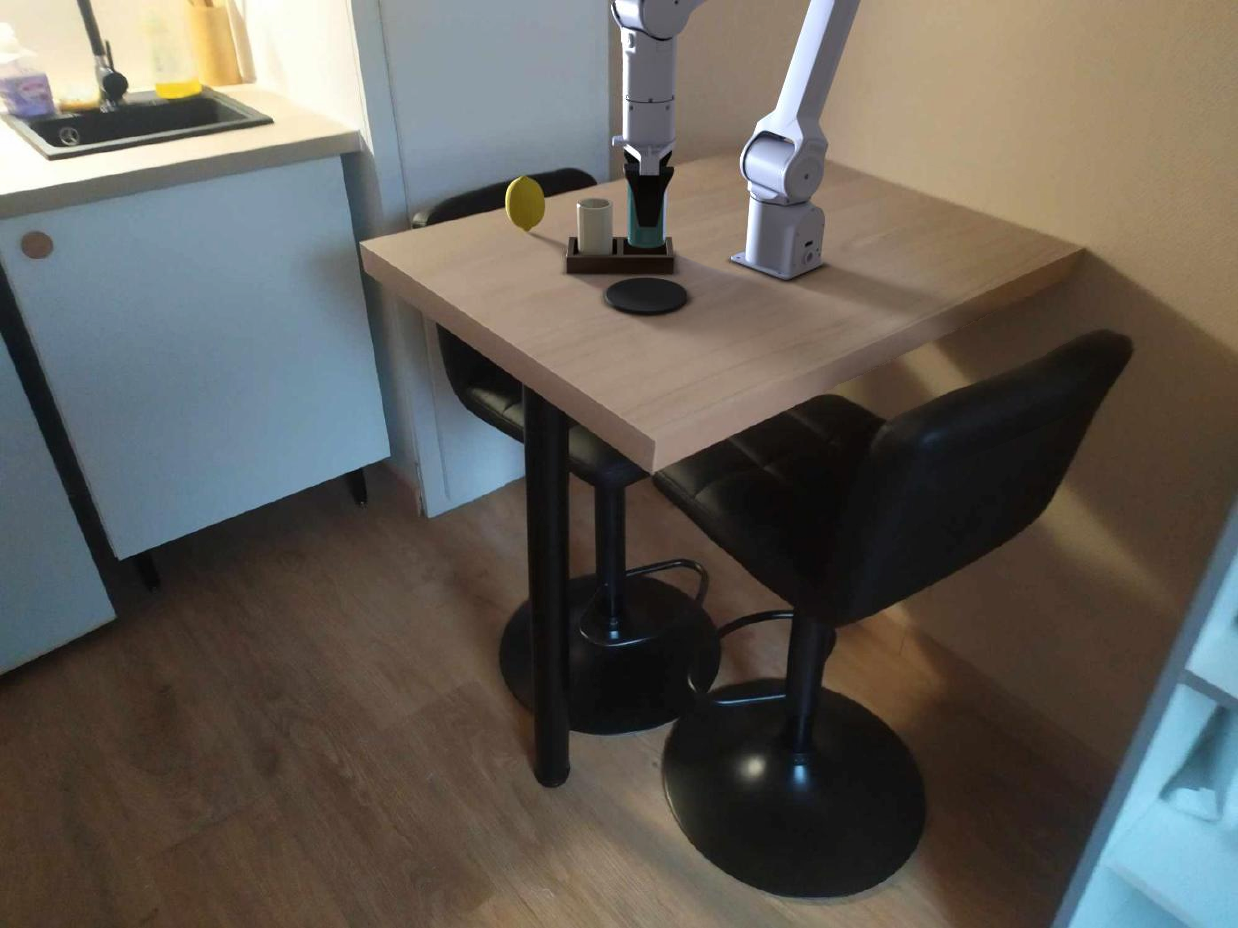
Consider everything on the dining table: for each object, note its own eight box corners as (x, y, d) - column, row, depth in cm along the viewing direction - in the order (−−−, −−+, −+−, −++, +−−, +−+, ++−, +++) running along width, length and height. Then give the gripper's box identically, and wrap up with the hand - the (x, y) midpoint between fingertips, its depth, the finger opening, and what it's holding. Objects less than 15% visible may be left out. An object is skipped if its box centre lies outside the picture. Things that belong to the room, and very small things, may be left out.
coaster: (704, 298, 113) (704, 294, 113) (645, 322, 107) (645, 318, 107) (647, 274, 119) (647, 270, 119) (588, 296, 113) (588, 292, 113)
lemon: (540, 240, 129) (537, 183, 125) (502, 237, 130) (498, 180, 126) (550, 226, 134) (548, 170, 129) (513, 223, 135) (510, 168, 130)
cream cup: (619, 263, 122) (619, 203, 118) (594, 272, 120) (593, 211, 115) (597, 253, 125) (596, 195, 120) (571, 262, 122) (569, 203, 118)
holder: (673, 273, 119) (674, 257, 118) (566, 273, 119) (566, 257, 118) (671, 252, 125) (671, 236, 124) (569, 252, 125) (569, 236, 124)
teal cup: (673, 241, 110) (675, 174, 105) (646, 251, 107) (647, 183, 103) (647, 231, 113) (648, 165, 108) (619, 241, 110) (619, 173, 106)
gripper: (613, 82, 107) (614, 198, 114) (611, 114, 95) (612, 241, 102) (674, 82, 107) (670, 198, 114) (680, 114, 95) (675, 241, 102)
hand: (647, 218), depth 108 cm, fingers closed on teal cup, 4 cm apart
